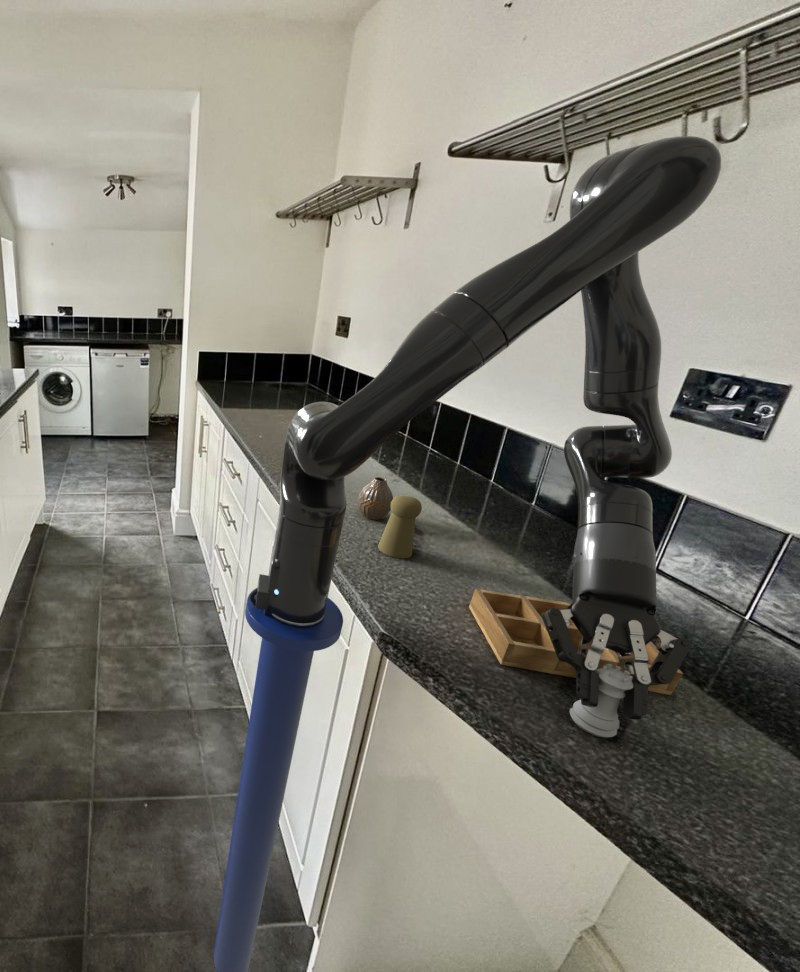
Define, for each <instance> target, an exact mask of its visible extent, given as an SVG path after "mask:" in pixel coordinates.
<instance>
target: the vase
mask: <svg viewBox="0 0 800 972" xmlns="http://www.w3.org/2000/svg"><path fill="white" fill-rule="evenodd" d="M393 499H394V496H393V492H392V489H391V488H390V486H389V485H388V482H387V479H386V478H384V477H381V476H376V477H373V479H372V480H371V481H370V482H369V483H367V484H366V485H365V486H363V488H362V489H361V491H360V492H359V494H358V498H357V509H358V510H359V512H360V514H361V515H362V516H363V517H364V518H366V519H369V520H375V521H377V520H382V519H384V518H385V517H387V516H388V515H389V513H390V512H391V502H392V500H393Z"/></svg>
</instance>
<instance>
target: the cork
mask: <svg viewBox="0 0 800 972" xmlns="http://www.w3.org/2000/svg"><path fill="white" fill-rule="evenodd" d="M422 505H423V504H422V503H421V501H420V500H418V498H415V497H413V496H410V495H405V494H404V495H397V496H395V497H393V500H392V502H391V510H390V512H391V513H390V516H389V518H388V520H387V523H386V526H385V528H384V531H383V533H382V535H381V538H380V540H379V543H378V544H377V548H378V550H379V551H380V552H381V553H383V554H384V555H386V556H389V557H391V558H395V559H408V558H411V557H412V556H413V547H414V539H415V529H416V521H417V520H416V518H417V517H419V516H420V514H421V513H422V509H423V508H422V507H423V506H422Z"/></svg>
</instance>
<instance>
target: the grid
mask: <svg viewBox="0 0 800 972" xmlns="http://www.w3.org/2000/svg"><path fill="white" fill-rule="evenodd" d="M571 603H572V602H565V601H558V600H553V599H546V598H539V597H533V596H528V595H527V596H526V595H519V594H512V593H506V592H499V591H493V590H486V589H480V588H474V591H473V594H472V597H471V599H470V603H469V606H468V609H469V611H470V612H471V614H472V616H473V618H474V619H475V621H476V623H477V624H478V626H479V628H480V630H481V632H482V633H483V635H484V637H485V639H486V641H487V643H488V645H489V646H490V648H491V650H492V652H493V654H494V655H495V657H496V659H497V661H498V662H499V664H500V665H502V666H507V667H513V668H519V669H522V670H523V669H524V670H528V671H529V670H530V671H535V672H541V673H545V674H551V675H557V676H562V677H569V678H574V679H576V670H575V668H574V667H573V666H571V665H570V664H568V663H566V662H562V661H560V660H559V659H558V657H557V655H556V652H555V650H554V647H553V645H552V642H551V639H550V637H549V634H548V632H547V629H546V627H545V624H544V621H543V619H542V613H544V612H546V611H548V610H550V609H553V608H556V609H559V610H564V609H568V607H569V606H570V605H571ZM569 621H570V625H569V626H568V627H567V628H568V630H569V632H570V635H571V637H572V640H573V642H574V645H575V647H576V650H577V652H578V653H579V651H578V647H579V643H580V640H581V637H582V635H581V633H580V632H579V630H578V629H577V628H576V626H575V625H574V623H573V622H572V620H571V619H570V620H569ZM646 650H647V654H648V658H649V661H648V663H647V665H648V669H650V667H651V665H652V663H653V662H654V660H655V658H656V657H657V655H658V653H659V651H658V650H657V649H656V644H654V643H653V642H652V640H651V641H650V642H649V643H648V644H647V645H646ZM606 664H611V665H612V667H611V668H615V666H619V667H621V669H620V671H621V672H623V673H624V671H623V667H622V664H621V663H620V662H619V660H618V655H617V652H615V651H613V650H610V649H608V648H605V650H604V652H603V653H602V654H601V657H600V660H599V664H598V667H597V669H599V668H603V666H604V665H605V666H606ZM597 669H596V670H595V672H596V671H597ZM683 675H684V673H683V671H681V669H680V668H679V669H678V670H677V672H676V674H675V676H674V678H673V679H672V681H671V683H669V684H658V685H650V686H649V687H648V692H652V693H656V694H662V695H667V696H672V694H673V692H674V691H675V689H676V687H677V686H678V684H679V682H680V681H681V679H682V677H683Z"/></svg>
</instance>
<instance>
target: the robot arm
mask: <svg viewBox="0 0 800 972" xmlns="http://www.w3.org/2000/svg"><path fill="white" fill-rule="evenodd" d="M721 169H722V156H721V152H720V150H719V149H718V147H717V146H716V145H715V143H713V142H711V141H710V140H708V139H706V138H703V137H701V136H692V135H691V136H689V135H680V136H672V137H666V138H665V137H664V138H660V139H656V140H653V141H650V142H647V143H644V144H640V145H635V146H633V147H629V148H625V149H622V150H618V151H616V152H613V153H610V154H608V155H605V156H603V157H601V158H600V159H598V160H597V161H595V162H593V164H591V165H590V166H588V168H587V169H586V170H585V171H584V172H583V173H582V174H581V175H580V177H579V179H578V180H577V182H576V184H575V186H574V188H573V190H572V192H571V196H570V199H569V220H568V221H567V222H566V223H565V224H563V225H561V227H559V228H558V229H557V230H555V231H554V232H552V233H551V234H549V235H548V236H547V237H545V238H543V239H541V240H539V241H538V242H536V243H535V244H533V245H530V246H529V247H527V248H525V249H524V250H522V251H520V252H518V253H516V254H514V255H512V256H510V257H509V258H507V259H504V260H503V261H501V262H499V263H498V264H496V265H493V266H492V267H491V268H488V269H487V270H485V271H483V272H482V273H480V274H478V275H477V276H475V277H473V278H472V279H471V280H469V281H468V282H466V283H465V284H463V285H462V286H460V287H459V288H458V289H456V290H455V291H454V292H453V293H451V294H450V295H449V296H447V297H446V299H444V300H443V301H441V302H440V303H439V304H438V305H436V307H434V308H433V309H432V310H431V311H430V312H428V313H427V314H426V315H425V316H424V317H423V318H421V320H420V321H419V322H418V323H417V324H416V325H415V326H414V327H413V328H412V329H411V330H410V332H409V333H408V334H407V335H406V336H405V338H404V339H403V341H402V342H401V344H400V345H399V346H398V347H397V349H396V351H395V352H394V353H393V355H392V356H391V358H390V359H389V360H388V362H387V363H386V364H385V366H384V368H382V370H381V371H380V372H379V373H378V374H377V375H376V376H375V377H374V378H373V379H372V380H371V381H370V382H369V383H367V384H366V385H365V386H364V387H363V388H361V389H360V390H359V391H357V392H356V393H355V394H354V395H352V396H351V397H349V398H348V399H347V400H345V401H344V402H343V403H341V404H340V405H337V404H335V403H333V402H330V401H329V402H328V401H315V402H312V403H309V404H306V405H305V406H303V407H302V408H300V409H299V410H298V411H297V412H296V413H295V414H294V416H293V417H292V418H291V420H290V423H289V425H288V427H287V430H286V435H285V441H284V446H283V447H284V448H283V456H282V463H281V471H280V478H279V479H280V480H279V481H280V482H279V490H280V491H279V493H280V494H279V495H280V500H279V507H278V508H279V509H278V515H277V521H276V528H275V534H274V540H273V541H274V542H273V545H272V549H271V556H270V560H269V568H268V574H262V573H259V574H258V581H257V587H256V588H257V589H256V588H254V589H255V590H254V589H253V590H251V592H250V593H249V594H250V600H251V602H252V603H253V605H254V606H256V608H262V609H264V615H265V616H270V617H272V618H274V619H275V620H277V621H279V622H280V623H283V624H285V625H288V626H292V627H298V628H308V627H313V626H316V625H318V624H320V623H321V622H322V621H323V619H324V616H325V609H326V603H327V598H329V592H330V588H331V584H332V578H333V573H334V569H335V564H336V560H337V554H338V550H339V544H340V540H341V535H342V530H343V525H344V521H345V516H346V511H347V506H348V505H347V497H346V492H345V489H346V488H345V477H347V476H349V475H350V474H351V473H353V472H355V471H356V470H357V469H359V468H360V467H361V466H362V465H364V463H365V462H367V461H368V460H369V459H370V458H371V457H372V456H373V455H374V454H375V453H376V452H377V451H379V450H380V449H381V448H382V447H383V446H384V445H385V444H386V443H387V442H388V441H389V440H391V439H392V438H393V437H394V436H395V435H396V434H397V433H398V432H399V431H400V430H401V429H403V427H405V426H406V425H407V424H408V423H409V422H410V421H412V420H413V419H414V418H415V417H417V416H419V414H421V413H422V412H423V411H425V410H427V408H429V407H430V406H432V405H433V404H434V403H435V402H437V401H439V400H440V399H441V398H442V397H444V396H445V395H446V394H447V393H448V392H450V391H451V390H453V389H454V388H455V387H456V386H457V385H459V384H460V383H462V382H463V381H464V380H466V379H467V378H468V377H470V376H471V375H473V374H474V373H476V372H477V371H478V370H480V369H481V368H483V367H484V366H486V365H487V364H488V363H489V362H490V361H492V360H493V359H495V358H496V357H497V356H499V355H500V354H501V353H503V352H504V351H505V350H506V349H508V348H509V347H510V346H511V345H513V344H514V343H515V342H516V341H517V340H518V339H519V338H521V337H522V336H524V335H525V334H526V333H527V332H528V331H530V330H531V329H533V328H534V327H535V326H537V325H538V324H539V323H541V322H542V321H543V320H544V319H546V318H547V317H549V316H550V315H552V313H554V312H555V311H556V310H558V309H559V308H560V307H562V306H563V305H564V304H566V303H567V302H569V301H570V300H571V299H573V297H574V296H576V295H577V294H579V293H580V294H581V302H582V309H583V310H582V311H583V320H584V329H585V330H584V338H585V340H584V341H585V346H584V373H583V378H584V379H583V399H582V400H583V404H584V407H585V408H586V409H588V410H589V411H591V412H594V413H598V414H603V415H609V416H610V415H611V416H618V417H622V418H627V419H629V421H631V422H633V423H634V424H616V425H615V424H614V425H612V424H611V425H586V426H582V427H581V426H580V427H578V428H576V429H575V430H573V431H572V432H571V433H569V435H568V436H567V438H566V439H565V442H564V446H563V454H564V459H565V462H566V466H567V468H568V471H569V473H570V476H571V478H572V480H573V484H574V486H575V487H574V488H575V490H576V495H577V509H578V510H577V511H578V512H577V532H576V538H575V542H574V547H573V548H574V549H573V554H572V562H573V566H572V567H573V572H572V591H571V596H572V601H571V602H570V603H571V605H570V606H569V607H568V609H564V610H559V609H556V608H553V609H550V610H548V611H546V612H544V613H542V619H543V621H544V624H545V627H546V629H547V632H548V634H549V637H550V639H551V642H552V645H553V647H554V650H555V652H556V655H557V657H558V659H559V660H560V661H562V662H566V663H568V664H570V665H571V666H573V667H574V668H575V670H576V678H575V696H576V697H577V699H579V700H581V704H582V705H584V706H587V707H597V705H598V687H599V673H596V672H595V670H596V669H597V667H598V664H599V660H600V657H601V654H602V653H603V652H604V650H605V648H608V649H610V650H613V651H615V652H617V655H618V660H619V662H620V663H621V664H622V667H623V671H626V670H627V671H628V672H629V673H630V676H632V680H631V681H632V683H633V688H632V689H629V690H625V691H624V692H625V697H624V698H622V716H623V718H626V719H629V720H641V719H642V716H647V714H648V713H649V691H648V687H649V686H650V685H658V684H669V683H671V681H672V679H673V678H674V676H675V674H676V672H677V670H678V669H679V670H680V667H681V665H682V663H683V662H684V660H685V658H686V656H687V655H688V653H689V651H690V649H691V647H692V643H691V641H690V640H689V639H687V638H685V637H684V638H683V637H680V638H677V637H675V636H673V635H672V634H670V633H668V632H666V631H664V630H662V627H661V623H659V621H658V619H657V617H656V613H657V605H658V603H657V599H658V598H657V552H656V547H655V542H654V534H653V533H654V531H653V529H654V528H653V501H652V498H651V495H650V494H649V493H648V492H647V491H645V490H643V489H641V488H639V487H635V486H632V485H627V484H622V483H617V482H613V481H609V480H607V479H605V478H613V479H614V478H617V479H619V478H620V479H623V478H624V479H647V478H648V479H649V478H650V479H651V478H654V477H657V476H658V475H660V474H662V473H663V472H664V471H665V470H666V469H667V468H668V467H669V466H670V463H671V461H672V458H673V450H672V445H671V442H670V438H669V435H668V432H667V430H666V427H665V424H664V421H663V418H662V414H661V411H660V403H659V382H660V373H661V372H660V371H661V363H662V337H661V332H660V328H659V323H658V321H657V318H656V316H655V314H654V311H653V308H652V306H651V303H650V301H649V299H648V296H647V294H646V291H645V287H644V285H643V281H642V276H641V272H640V262H639V260H640V259H639V254H640V253H639V252H640V251H642V250H643V249H645V248H647V247H648V246H650V245H651V244H653V243H654V242H656V241H657V240H660V239H661V238H663V237H664V236H665V235H667V234H669V233H670V232H671V231H674V229H676V228H677V227H678V226H680V225H681V224H683V223H684V222H686V221H687V220H688V219H689V218H690V217H692V215H693V214H694V213H696V211H697V210H698V209H700V208H701V206H702V205H703V204H704V203H705V202H706V200H707V199H708V197H709V196H710V195H711V194H712V191H713V190H714V188H715V186H716V184H717V182H718V181H719V180H718V179H719V176H720V173H721ZM256 594H257V597H256V600H255V598H254V596H255V595H256ZM570 619H571V620H572V622H573V623H574V625H575V626H576V628H577V629H578V630H579V632H580V633H581V635H582V637H581V640H580V643H579V647H578V651H579V653H578V652H577V650H576V647H575V645H574V642H573V640H572V637H571V635H570V632H569V630H568V628H567V627H568V626H569V625H570V621H569V620H570ZM653 640H655V642H656V644H655V646H656V649H657V650H658V651H659V653H658V655H657V657H656V658H655V660H654V662H653V663H652V665H651V667H650V669H648V665H647V663H648V661H649V658H648V654H647V650H646V645H647V644H648V643H649V642H650V641H651V642H652V641H653Z"/></svg>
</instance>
